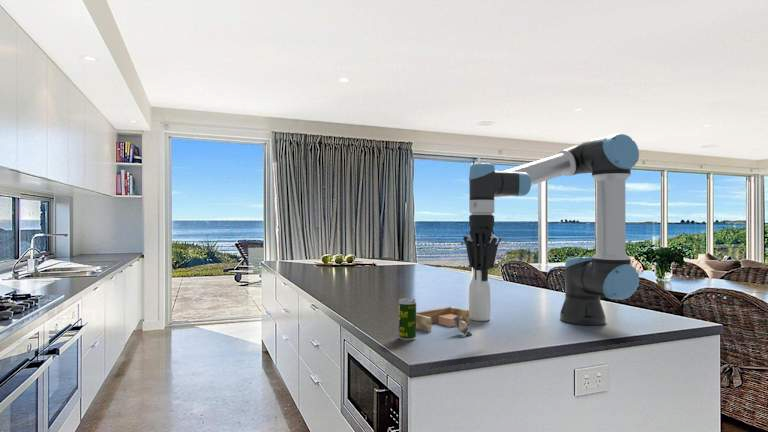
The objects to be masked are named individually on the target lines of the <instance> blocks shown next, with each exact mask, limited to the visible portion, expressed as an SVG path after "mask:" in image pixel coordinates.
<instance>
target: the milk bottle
mask: <svg viewBox="0 0 768 432" xmlns="http://www.w3.org/2000/svg"><path fill="white" fill-rule="evenodd" d="M472 270H473V274H472V277H471V280H470V283H469V289H468V310H469V311H470V321H477V322H488V321H490V320H491V287H490V283H489V281H488V280H487V281H486V292H476V280H475V269H474V268H473V269H472Z"/></svg>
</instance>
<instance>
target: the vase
mask: <svg viewBox="0 0 768 432" xmlns="http://www.w3.org/2000/svg"><path fill="white" fill-rule="evenodd" d="M453 320H454V321H455V324H456V325H457V326H456V329H457V330H458V332H460V333H463V335H461V336H460V335H459V337H461V338H464V337H465V338H466V337H467V336H473V332H472V331H470V330H468V329H469V327H468V324H467V323H466V322H465V321H463V320H462V319H461V318H460V316H456V317H455V318H454V319H453Z"/></svg>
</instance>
